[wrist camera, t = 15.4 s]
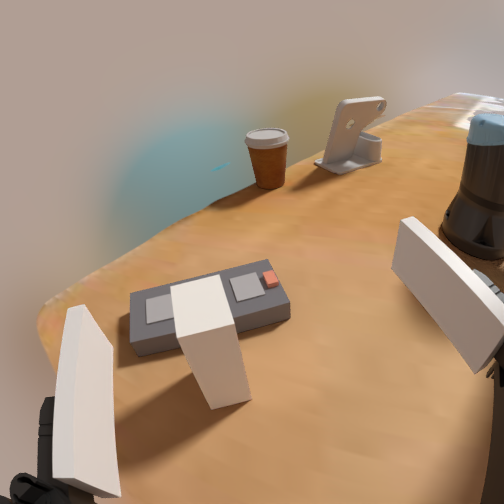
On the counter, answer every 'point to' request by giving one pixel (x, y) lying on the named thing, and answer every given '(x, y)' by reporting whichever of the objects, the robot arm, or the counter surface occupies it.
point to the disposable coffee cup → (268, 156)
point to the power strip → (238, 296)
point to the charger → (210, 340)
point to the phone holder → (353, 137)
